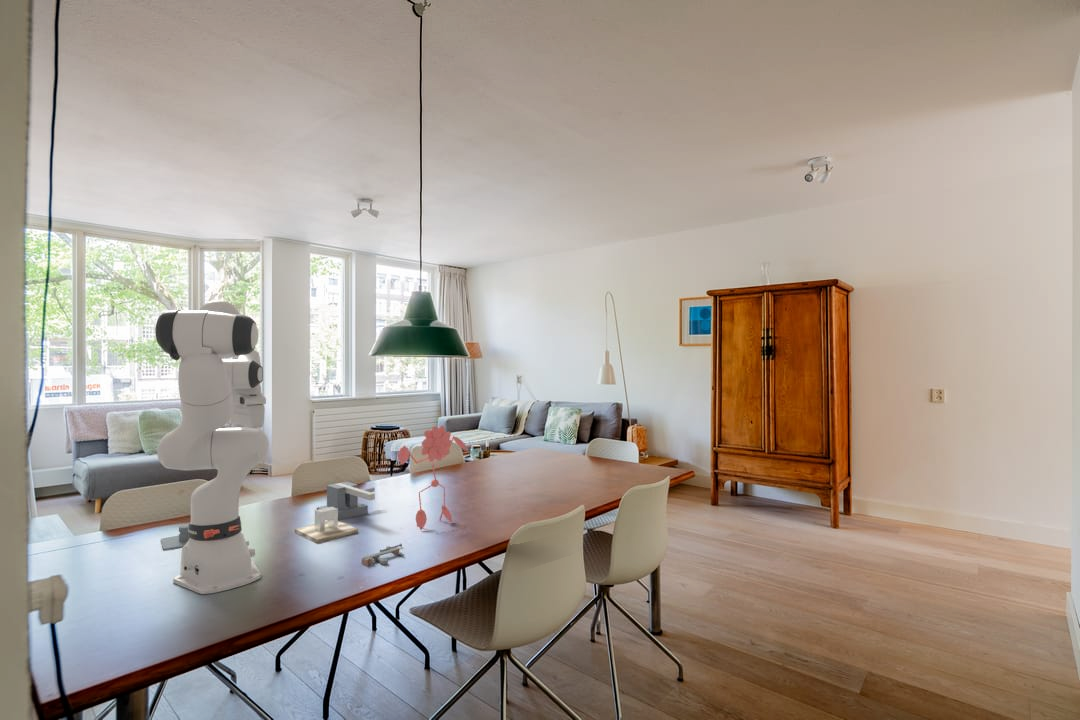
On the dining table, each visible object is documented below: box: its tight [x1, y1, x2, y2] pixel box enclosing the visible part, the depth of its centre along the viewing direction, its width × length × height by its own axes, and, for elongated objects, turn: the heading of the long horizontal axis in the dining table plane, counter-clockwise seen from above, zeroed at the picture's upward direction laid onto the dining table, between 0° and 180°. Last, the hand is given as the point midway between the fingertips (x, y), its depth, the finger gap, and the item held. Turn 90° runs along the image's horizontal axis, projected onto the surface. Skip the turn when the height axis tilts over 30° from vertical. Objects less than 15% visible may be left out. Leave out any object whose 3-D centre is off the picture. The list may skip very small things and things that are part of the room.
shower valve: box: [160, 523, 190, 551], centre depth 168 cm, size 12×6×15 cm
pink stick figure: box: [397, 425, 469, 535], centre depth 181 cm, size 15×26×35 cm, turn 132°
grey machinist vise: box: [316, 481, 376, 521], centre depth 194 cm, size 27×20×11 cm
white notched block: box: [314, 507, 339, 532], centre depth 175 cm, size 4×6×6 cm, turn 138°
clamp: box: [361, 543, 405, 567], centre depth 153 cm, size 15×2×10 cm
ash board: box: [294, 520, 359, 544], centre depth 175 cm, size 16×14×1 cm
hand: (246, 439), depth 176 cm, fingers open, 8 cm apart
